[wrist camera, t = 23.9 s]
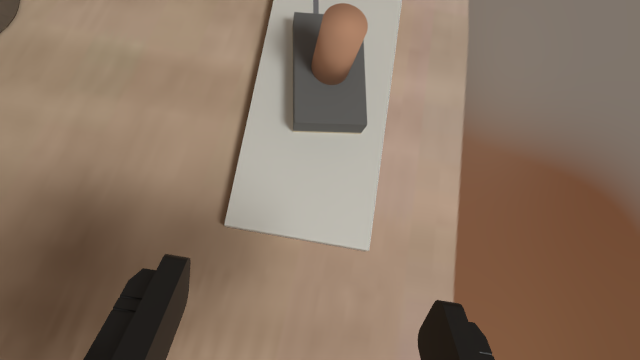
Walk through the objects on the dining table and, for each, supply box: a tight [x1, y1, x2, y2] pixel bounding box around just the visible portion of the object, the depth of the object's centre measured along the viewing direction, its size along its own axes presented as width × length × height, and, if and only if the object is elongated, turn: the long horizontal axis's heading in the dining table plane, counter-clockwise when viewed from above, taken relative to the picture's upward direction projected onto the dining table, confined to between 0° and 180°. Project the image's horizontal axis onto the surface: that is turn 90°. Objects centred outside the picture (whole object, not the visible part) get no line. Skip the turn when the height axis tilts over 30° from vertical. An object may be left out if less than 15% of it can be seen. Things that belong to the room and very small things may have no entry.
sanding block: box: [292, 3, 368, 134], centre depth 31 cm, size 10×6×8 cm, turn 1°
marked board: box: [224, 0, 402, 251], centre depth 36 cm, size 26×12×2 cm, turn 171°
